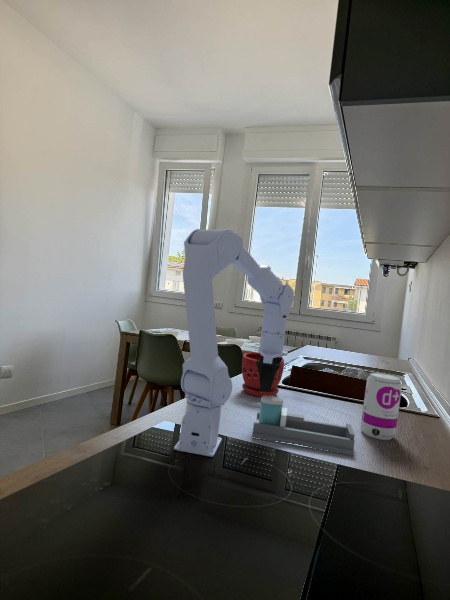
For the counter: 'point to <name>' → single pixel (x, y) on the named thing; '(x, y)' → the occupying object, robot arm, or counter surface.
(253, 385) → the plant pot
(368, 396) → the supplement can
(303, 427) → the lane
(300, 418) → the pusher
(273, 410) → the jar
